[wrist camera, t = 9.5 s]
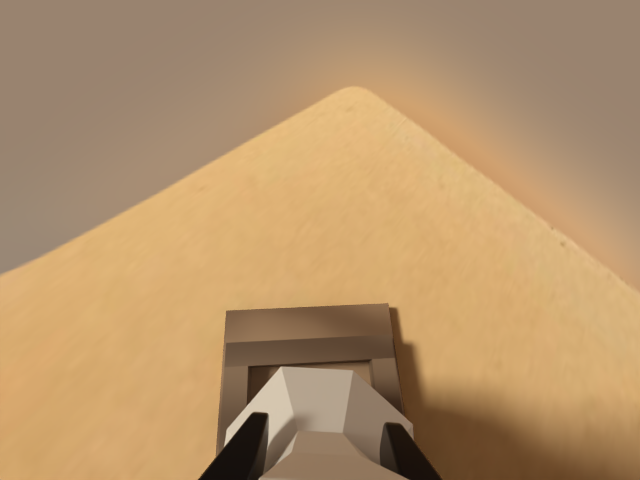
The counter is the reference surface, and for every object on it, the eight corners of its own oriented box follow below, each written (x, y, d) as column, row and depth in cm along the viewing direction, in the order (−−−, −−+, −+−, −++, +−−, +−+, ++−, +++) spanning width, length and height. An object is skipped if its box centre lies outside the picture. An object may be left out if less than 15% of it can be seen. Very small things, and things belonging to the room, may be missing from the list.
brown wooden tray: (425, 587, 18) (442, 614, 16) (209, 607, 18) (194, 638, 15) (385, 306, 25) (392, 297, 23) (229, 313, 25) (221, 305, 22)
